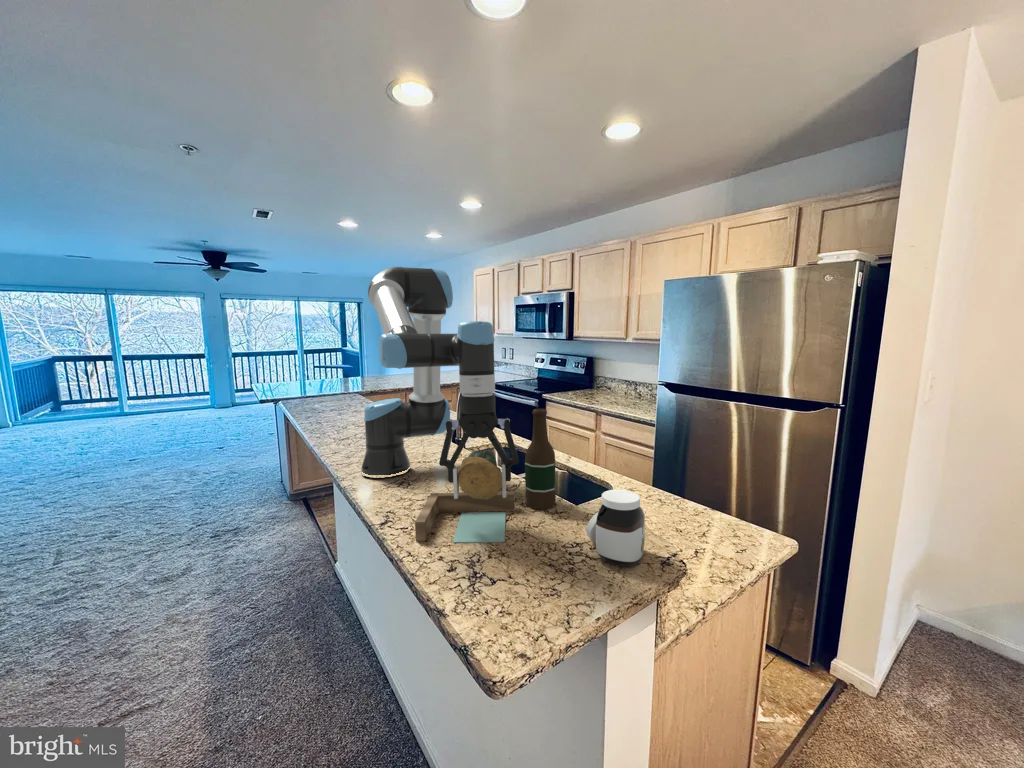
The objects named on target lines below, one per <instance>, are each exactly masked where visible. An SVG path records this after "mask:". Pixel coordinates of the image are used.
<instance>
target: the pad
mask: <svg viewBox="0 0 1024 768" xmlns="http://www.w3.org/2000/svg"><path fill="white" fill-rule="evenodd" d="M506 512H507V511H480V512H461V514H460V515H459V519H458V524H457V526H456V529H455V532H454V536H453V539H452V543H453V544H466V543H467V544H468V543H473V544H474V543H504V542H505V538H506V537H505V535H506V514H507V513H506Z"/></svg>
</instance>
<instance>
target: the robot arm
mask: <svg viewBox="0 0 1024 768" xmlns="http://www.w3.org/2000/svg"><path fill="white" fill-rule="evenodd" d="M453 292H454V291H453V287H452V283H451V279H450V277H449V275H448V273H447V272H446V271H444V270H441V269H437V268H432V267H431V268H422V267H421V268H420V267H407V266H406V267H404V266H403V267H402V266H392V267H387V268H385V269H384V270H381V271H380V272H379V273H377V274H376V275H374V277H373V278H372V279H371V281H370V283H369V285H368V289H367V296H368V300H369V303H370V304H371V306H372V307H373V308H374V309H375V310H376V313H377V316H378V319H379V323H380V325H381V330H382V332H383V334H381V335H380V336H379V339H378V355H379V362H380V365H381V366H382V367H383V368H386V369H400V370H401V369H409V368H411V369H412V368H413V391H412V392H411V393H410V394H409V395H408V401H406V402H403V400H402V398H400V397H399V398H398V397H395V398H387V399H386V398H385V399H381V400H377V401H374V402H371V403H368V404H366V406H365V407H364V418H363V421H364V429H365V432H364V433H365V454H364V457H363V460H362V465H361V468H360V471H362V472H363V473H365V474H368V475H391V474H396V473H399V472H402V471H405V470H407V469H408V468H409V467H410V468H411V462H410V459H409V457H408V454H407V452H406V449H405V446H404V444H405V443H404V441H405V440H404V439H408V438H417V437H427V436H435V435H441V434H444V433H445V432H446V433H445V436H444V437H445V438H444V441H443V444H442V449H441V455H440V457H439V458H440V459H439V463H438V464H439V466H441V467H446V468H447V473H448V474H447V476H448V477H447V478H448V479H447V480H448V482H449V483H450V484H452V483H453V493H454V499H458V496H459V493H460V485H459V483H458V478H459V474H458V470H459V465H455V464H456V463H457V461H458V459H459V457H460V455H461V453H462V451H463V449H464V448H465V446H466V443H467V442H468V440H469V438H470V439H477V438H480V439H486V438H487V439H488V441H490V443H491V445H492V446H493V448H494V450H495V451H496V453H497V455H498V457H499V458H500V460H501V461H502V463H503V464H501V472H502V487H501V489H502V491H501V492H502V495H503V498H506V492H507V482H511V481H512V466H515V465H518V464H519V463H520V459H519V455H518V451H517V449H516V445H515V441H514V438H513V435H512V431H511V419H510V418H508V417H506V418H498V417H497V414H496V411H497V410H496V396H495V395H494V394H493V393H495V392H496V380H495V379H496V376H495V374H496V373H495V335H494V327H493V324H492V323H491V322H489V321H482V320H481V321H480V320H479V321H474V320H473V321H472V320H471V321H461V322H460V323H459V324H457V325H458V326H457V333H442V319H443V318H444V317H445V316H446V315H447V309H450V308H451V307H452V306H453V301H454V297H453V296H454V293H453ZM441 367H458V369H459V371H458V373H459V393H460V394H462V395H461V396H460V397H459V404H460V405H459V408H460V409H459V411H460V417H459V418H458V419H451V410H450V409H451V406H450V402H449V401H448V400H447V399H446V398H445V395H444V394H443V393H442V392H441ZM498 425H499V426H500V429H501V430H503V431H504V437H505V438H506V439H505V440H506V443H507V446H508V449H509V452H510V456H511V458H509V456H508V454H507V452H506V450H505V449H504V448H503V446H502V444H501V442H500V441H499V439H498V437H497V436H496V434H495V432H494V430H495V428H496V427H497V426H498ZM458 426H459V427H460V428H461V430H462V431H463V432H464V434H463V436H462V438H461V440H460V441H459V443H458V445H457V447H456V448H455V451H454V452H453V454H452V456H451V458H450V459H448V456H449V452H450V448H451V445H452V440H453V435H454V432H455V430H456V429H457V428H458ZM362 472H361V473H362Z"/></svg>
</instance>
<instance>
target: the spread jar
mask: <svg viewBox="0 0 1024 768" xmlns="http://www.w3.org/2000/svg"><path fill="white" fill-rule="evenodd" d="M645 518H646V517H645V512H644V510H643V508H642V506H641V497H640V495H639V494H638V493H635V492H634V491H630V490H627V489H609V490H606V491H603V493H601V505H600V508H599V509H598V512H596V513H595V514H594V515H593V516H592V517H591V518H590V520H589V521H588V522H587V525H586V530H585V533H586V535H587V536H588V537H589V538H590V540H591V541H592V542H595V549H596V553H597V555H598V556H599V557H600V558H601V559H602V560H604V562H607V563H608V564H610V565H612V564H613V565H612V566H616V565H617V566H616V567H622V566H628V567H633V566H636V565H638V564H639V563H640V562H641V560H642V558H643V555H644V549H645V544H646V543H645V540H646V539H645V538H646V535H645V533H646V532H645V531H646V528H645V527H646V524H645V523H646V519H645Z"/></svg>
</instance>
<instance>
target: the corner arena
mask: <svg viewBox="0 0 1024 768" xmlns="http://www.w3.org/2000/svg"><path fill="white" fill-rule="evenodd" d="M515 495H516V493H515V491H506V498H503V495H502V491H499V492H498V494H497V495H496V496H493V497H492V498H490V499H488V500H486V499H479V498H472V497H470V496H469V495H467V494H466V493H464V492H459V496H458V499H454V492H431V493H430V494H429V496H428V498H427V499H426V501H425V503H424V505H423V507H422V509H421V510H420V512H419V513H418V516H417V518H416V519H415V521H414V528H415V530H414V532H415V541H417V542H422V541H423V542H424V541H427V538H428V536H429V534H430V531H431V529H432V527H433V526H434V522H435V520H436V518H437V516H438V514H439V513H453V512H454V513H459V512H461V513H468V512H508V511H511V512H512V511H513V512H514V511H515V510H516V505H515V504H516V500H515V499H516V498H515Z"/></svg>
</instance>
